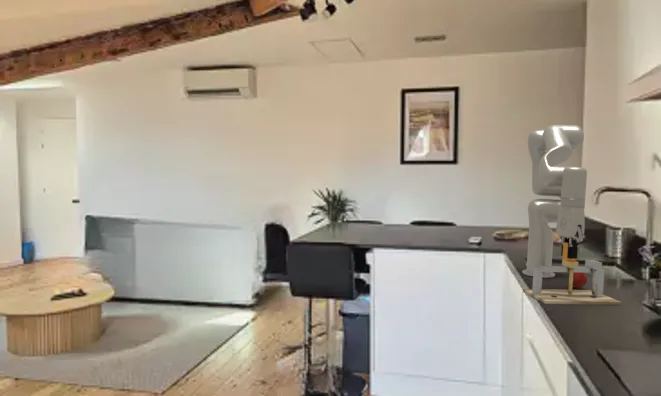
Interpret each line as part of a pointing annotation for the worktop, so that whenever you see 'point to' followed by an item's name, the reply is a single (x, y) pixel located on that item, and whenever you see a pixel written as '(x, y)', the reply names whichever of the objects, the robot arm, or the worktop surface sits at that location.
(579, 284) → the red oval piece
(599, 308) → the worktop surface
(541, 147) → the robot arm
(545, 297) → the bolt plate
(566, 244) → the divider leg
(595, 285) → the grey arch frame
